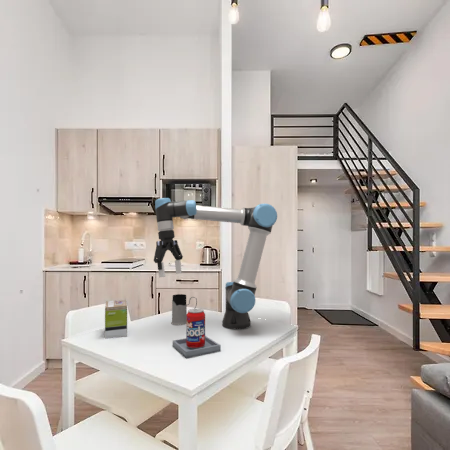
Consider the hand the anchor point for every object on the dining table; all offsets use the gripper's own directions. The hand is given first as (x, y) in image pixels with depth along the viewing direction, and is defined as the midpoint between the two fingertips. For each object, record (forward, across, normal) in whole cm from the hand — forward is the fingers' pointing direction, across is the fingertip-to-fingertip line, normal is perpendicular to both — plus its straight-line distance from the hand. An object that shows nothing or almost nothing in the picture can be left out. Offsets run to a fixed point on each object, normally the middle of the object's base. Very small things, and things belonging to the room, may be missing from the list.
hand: (170, 275), depth 141 cm
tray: (+30, +9, +15) cm, 35 cm away
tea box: (+25, +7, -31) cm, 40 cm away
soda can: (+30, +9, +15) cm, 35 cm away
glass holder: (+28, -23, -11) cm, 38 cm away
